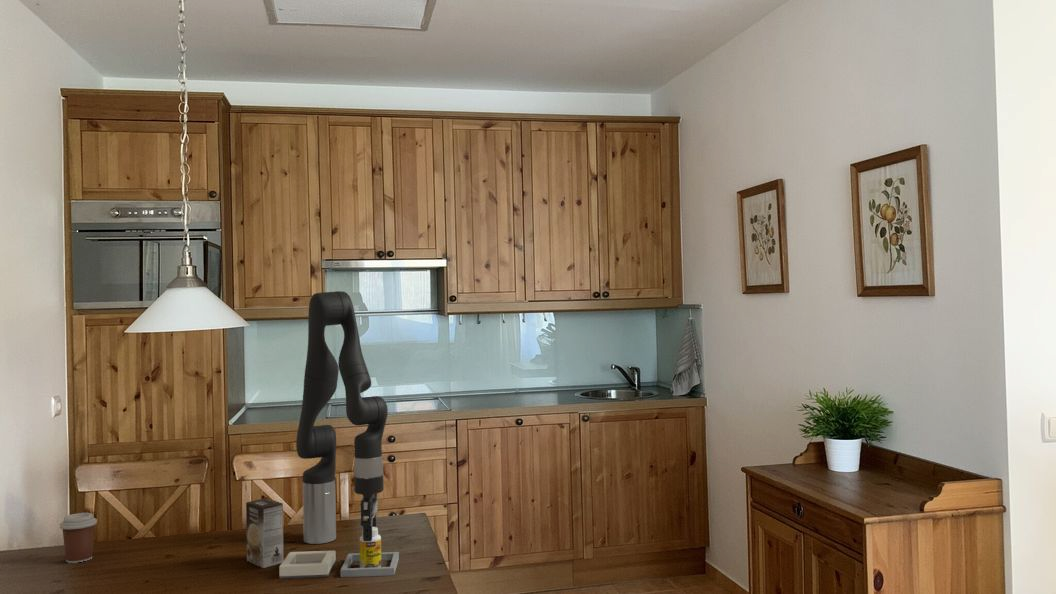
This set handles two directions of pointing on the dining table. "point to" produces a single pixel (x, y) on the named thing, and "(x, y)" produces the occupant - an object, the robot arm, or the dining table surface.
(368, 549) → the supplement bottle
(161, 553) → the dining table surface
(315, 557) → the holder
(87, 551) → the coffee cup
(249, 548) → the coffee box
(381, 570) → the tray
